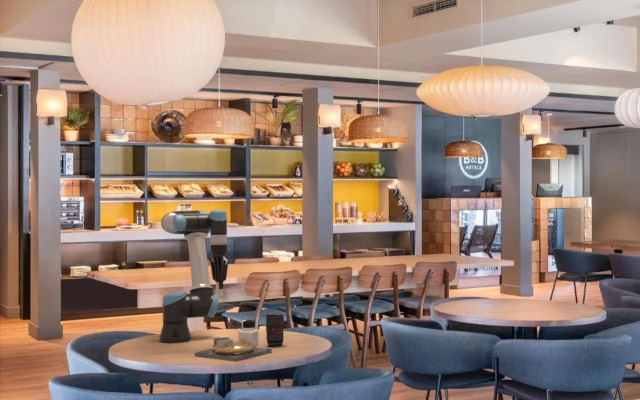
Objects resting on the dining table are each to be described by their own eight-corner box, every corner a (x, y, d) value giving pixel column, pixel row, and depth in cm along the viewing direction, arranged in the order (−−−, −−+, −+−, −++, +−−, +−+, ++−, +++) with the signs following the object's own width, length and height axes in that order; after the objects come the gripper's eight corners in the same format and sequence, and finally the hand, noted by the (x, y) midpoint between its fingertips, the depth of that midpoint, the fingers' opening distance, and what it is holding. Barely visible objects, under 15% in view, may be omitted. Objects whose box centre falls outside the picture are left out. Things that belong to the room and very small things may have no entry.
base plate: (194, 355, 402) (194, 352, 402) (230, 347, 422) (230, 343, 422) (236, 361, 388) (236, 357, 388) (271, 352, 408) (271, 348, 408)
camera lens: (281, 347, 420) (281, 315, 419) (264, 347, 421) (264, 314, 421) (285, 344, 427) (285, 312, 427) (269, 344, 429) (268, 312, 429)
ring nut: (247, 345, 416) (247, 333, 416) (258, 352, 400) (258, 339, 399) (208, 348, 410) (208, 336, 410) (218, 355, 393) (218, 342, 393)
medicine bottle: (258, 344, 428) (258, 319, 428) (252, 347, 421) (252, 321, 421) (244, 344, 430) (244, 318, 430) (238, 346, 424) (238, 320, 423)
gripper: (233, 244, 413) (234, 296, 413) (217, 243, 423) (218, 294, 423) (219, 245, 408) (220, 298, 408) (203, 243, 418) (204, 295, 418)
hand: (219, 296), depth 416 cm, fingers closed
